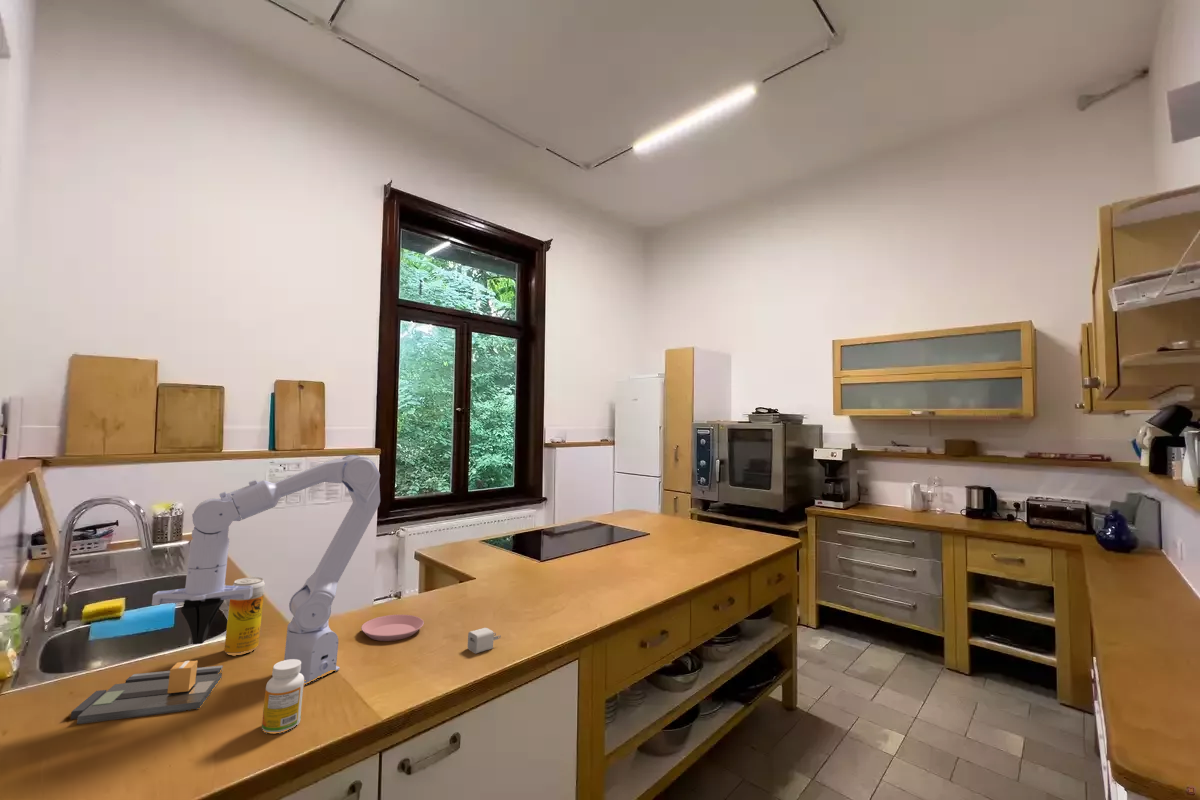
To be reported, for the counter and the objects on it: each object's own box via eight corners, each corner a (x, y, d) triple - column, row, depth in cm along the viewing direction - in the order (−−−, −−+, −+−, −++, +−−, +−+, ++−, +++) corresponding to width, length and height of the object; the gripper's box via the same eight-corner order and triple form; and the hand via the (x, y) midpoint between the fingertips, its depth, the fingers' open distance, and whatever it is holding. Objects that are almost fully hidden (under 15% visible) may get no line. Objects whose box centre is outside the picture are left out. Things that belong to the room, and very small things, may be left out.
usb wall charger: (467, 648, 114) (468, 630, 115) (492, 641, 119) (493, 624, 119) (476, 654, 111) (477, 636, 112) (502, 646, 116) (503, 629, 117)
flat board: (222, 670, 98) (223, 664, 98) (196, 704, 86) (197, 696, 86) (114, 681, 92) (115, 674, 92) (70, 719, 80) (71, 711, 80)
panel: (221, 679, 95) (222, 672, 95) (199, 709, 85) (200, 701, 85) (113, 691, 89) (114, 683, 89) (76, 724, 79) (77, 715, 79)
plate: (435, 629, 125) (436, 621, 125) (390, 649, 112) (391, 640, 112) (394, 618, 131) (394, 610, 131) (347, 636, 118) (347, 627, 118)
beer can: (240, 658, 104) (248, 585, 105) (216, 655, 105) (224, 582, 106) (265, 647, 110) (272, 578, 111) (242, 644, 111) (249, 575, 112)
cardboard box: (195, 683, 90) (197, 659, 91) (188, 691, 87) (191, 667, 88) (174, 685, 89) (177, 661, 89) (167, 693, 86) (170, 669, 87)
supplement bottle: (273, 716, 83) (279, 656, 84) (306, 716, 84) (312, 657, 85) (254, 735, 78) (260, 671, 79) (289, 735, 79) (295, 671, 79)
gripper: (147, 573, 84) (137, 655, 83) (247, 568, 90) (240, 646, 89) (165, 563, 91) (157, 639, 90) (258, 559, 96) (251, 631, 95)
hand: (199, 641), depth 90 cm, fingers closed
